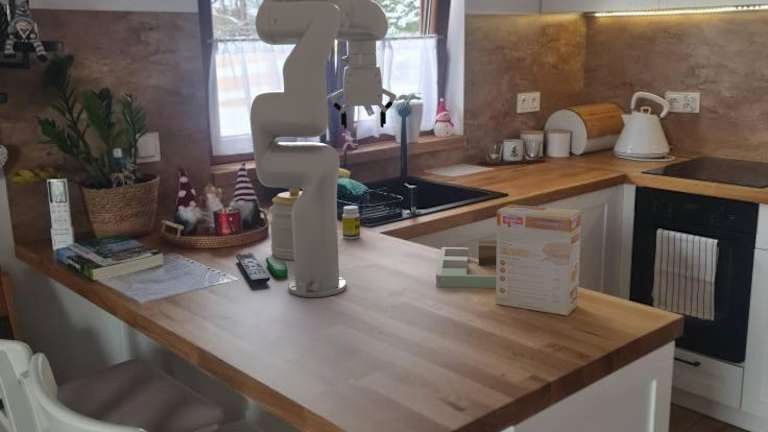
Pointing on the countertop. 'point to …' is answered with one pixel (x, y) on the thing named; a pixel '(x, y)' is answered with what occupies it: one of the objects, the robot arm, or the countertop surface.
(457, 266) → the trap box
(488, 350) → the countertop surface
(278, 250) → the jar
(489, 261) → the block
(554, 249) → the coffeecake box
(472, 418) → the countertop surface
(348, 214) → the supplement bottle
